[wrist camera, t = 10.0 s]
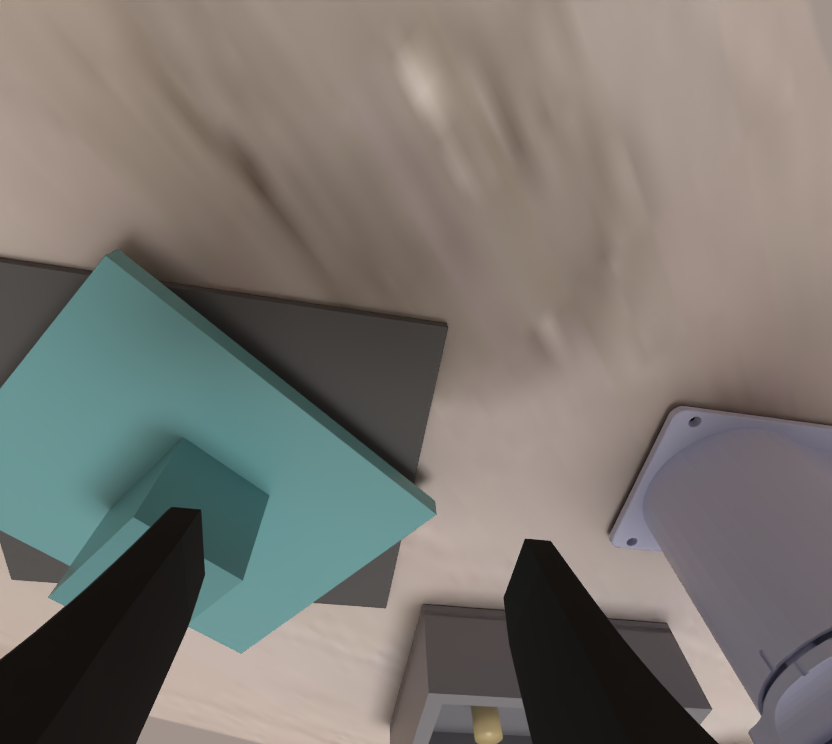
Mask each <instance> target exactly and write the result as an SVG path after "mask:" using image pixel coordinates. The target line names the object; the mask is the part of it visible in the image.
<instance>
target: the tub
mask: <svg viewBox="0 0 832 744" xmlns="http://www.w3.org/2000/svg"><path fill="white" fill-rule="evenodd" d="M609 621H610V622H611V623H612V625H613V626H614V627H615V629H616V630H617V631H618V632H619V634H620V635H621V636H622V638H623V639H624V640H625V641H626V642H627V644H628V645H629V646H630V647H631V649H632V650H633V651H634V652H635V653H636V655H637V656H638V657H639V658H640V659H641V661H642V662H643V663H644V664H645V665H646V666H647V668H648V669H649V670H650V671H651V672H652V674H653V675H654V676H655V677H656V678H657V679H658V680H659V682H660V683H661V684H662V685H663V686H664V687H665V688H666V689H667V690H668V692H669V693H670V694H671V695H672V696H673V697H674V698H675V699H676V700H677V701H678V702H679V703H680V704H681V706H682V707H683V708H684V709H685V710H686V711H687V712H688V713H689V714H690V715H691V716H692V717H693V718H694V719H695V720H696V721H697V722H698V723H699V725H700V724H701V723H702V721H703V720H704V719H705V718H706V717H707V715H708V714H709V713H710V712H711V710H712V708H711V706H710V704H709V702H708V700H707V698H706V696H705V694H704V693H703V691H702V689H701V687H700V685H699V683H698V681H697V679H696V677H695V675H694V674H693V672H692V670H691V668H690V666H689V664H688V662H687V660H686V658H685V657H684V655H683V653H682V651H681V649H680V647H679V645H678V643H677V641H676V639H675V638H674V636H673V634H672V632H671V630H670V628H669V626H668V624H666V623H653V622H641V621H628V620H615V619H609ZM390 744H532V740H531V735H530V731H529V727H528V723H527V719H526V714H525V710H524V706H523V702H522V698H521V694H520V689H519V685H518V681H517V677H516V672H515V668H514V664H513V659H512V655H511V650H510V646H509V639H508V632H507V624H506V615H505V611H500V610H488V609H475V608H462V607H449V606H437V605H424V604H423V607H422V611H421V615H420V618H419V622H418V626H417V629H416V633H415V637H414V640H413V644H412V648H411V651H410V655H409V659H408V662H407V666H406V670H405V673H404V677H403V681H402V684H401V688H400V691H399V695H398V699H397V702H396V706H395V710H394V713H393V717H392V721H391V724H390Z"/></svg>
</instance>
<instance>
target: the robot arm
mask: <svg viewBox="0 0 832 744" xmlns="http://www.w3.org/2000/svg"><path fill="white" fill-rule="evenodd" d="M694 417H696V418H695V419H694V420H693V421H691V422H689V421H690V420H691V419H692V418H694ZM609 539H610V541H611V543H612V545H613V546H615V547H618V548H629V549H639V550H649V551H660V552H663V553H664V555H665V557H666V558H667V560H668V562H669V563H670V565H671V567H672V568H673V570H674V572H675V573H676V575H677V577H678V578H679V580H680V582H681V583H682V585H683V587H684V588H685V590H686V592H687V593H688V595H689V597H690V598H691V600H692V602H693V603H694V605H695V607H696V608H697V610H698V612H699V613H700V615H701V617H702V618H703V620H704V622H705V623H706V625H707V627H708V628H709V630H710V632H711V633H712V635H713V637H714V638H715V640H716V641H717V643H718V645H719V646H720V648H721V650H722V651H723V653H724V655H725V656H726V658H727V660H728V661H729V663H730V665H731V666H732V668H733V670H734V671H735V673H736V675H737V676H738V678H739V680H740V681H741V683H742V685H743V686H744V688H745V690H746V691H747V693H748V695H749V696H750V698H751V700H752V701H753V703H754V705H755V706H756V708H757V710H758V711H759V713H760V715H761V718H760V720H759V721H758V722H757V724H756V725H755V726H754V727H752V728H751V729H750V730H749V732H748V733H749V735H750V737H751V739H752V741H753V742H754V744H832V426H829V425H822V424H814V423H807V422H799V421H792V420H784V419H777V418H770V417H762V416H755V415H747V414H740V413H732V412H725V411H718V410H710V409H703V408H695V407H688V406H679V407H677V408H675V409H673V410H672V411H671V412H670V413H669V415H668V417H667V419H666V421H665V423H664V425H663V427H662V429H661V431H660V433H659V435H658V437H657V439H656V441H655V443H654V445H653V447H652V449H651V452H650V454H649V456H648V458H647V460H646V462H645V464H644V466H643V468H642V470H641V472H640V474H639V476H638V478H637V480H636V482H635V484H634V486H633V488H632V490H631V492H630V494H629V496H628V498H627V500H626V502H625V504H624V506H623V508H622V510H621V512H620V514H619V517H618V519H617V521H616V523H615V525H614V527H613V529H612V531H611V533H610V535H609ZM204 577H205V564H204V547H203V529H202V512H201V509H191V508H180V507H171V508H169V509H168V510H167V511H166V512H165V513H164V514H163V515H162V516H161V517H160V518H159V519H158V520H157V521H156V522H155V523H154V524H153V525H152V526H151V527H150V528H149V529H148V530H147V531H146V532H145V533H144V534H143V535H142V536H141V537H140V538H139V539H138V540H137V541H136V542H135V543H134V544H133V545H132V546H130V547H129V548H128V549H127V550H126V551H125V552H124V553H123V554H122V555H121V556H120V557H119V558H118V559H117V560H116V561H115V562H114V563H113V564H112V565H111V566H109V567H108V568H107V569H106V570H105V571H104V572H103V573H102V574H101V575H100V576H99V577H97V578H96V579H95V580H94V581H93V582H92V583H91V584H90V585H89V586H88V587H87V588H86V589H84V590H83V591H82V592H81V593H80V594H79V595H78V596H77V597H75V598H74V599H73V600H72V601H71V602H70V603H68V604H67V605H66V606H65V607H64V608H62V609H61V610H60V611H59V612H58V613H57V614H55V615H54V616H53V617H52V618H51V619H50V620H48V621H47V622H46V623H45V624H44V625H43V626H41V627H40V628H39V629H38V630H37V631H35V632H34V633H33V634H32V635H31V636H29V637H28V638H27V639H26V640H24V641H23V642H22V643H21V644H19V645H18V646H17V647H16V648H14V649H13V650H12V651H10V652H9V653H8V654H7V655H5V656H4V657H3V658H2V659H0V744H136V742H137V740H138V738H139V735H140V733H141V731H142V729H143V727H144V724H145V722H146V720H147V718H148V715H149V713H150V711H151V709H152V707H153V704H154V702H155V700H156V698H157V695H158V693H159V691H160V689H161V687H162V684H163V682H164V680H165V678H166V675H167V673H168V671H169V669H170V666H171V664H172V662H173V660H174V657H175V655H176V653H177V651H178V648H179V646H180V644H181V642H182V639H183V637H184V635H185V633H186V630H187V628H188V626H189V623H190V620H191V617H192V614H193V611H194V608H195V605H196V602H197V599H198V596H199V593H200V590H201V586H202V583H203V580H204ZM504 606H505V615H506V624H507V632H508V639H509V646H510V650H511V655H512V659H513V664H514V668H515V672H516V677H517V681H518V685H519V689H520V694H521V698H522V702H523V706H524V710H525V714H526V719H527V723H528V727H529V731H530V735H531V740H532V744H718V743H717V742H716V741H715V740H714V739H713V738H712V737H711V736H710V735H709V734H708V733H707V732H706V731H705V730H704V729H703V728H702V727H701V726H700V725H699V723H698V722H697V721H696V720H695V719H694V718H693V717H692V716H691V715H690V714H689V713H688V712H687V711H686V710H685V709H684V708H683V707H682V706H681V704H680V703H679V702H678V701H677V700H676V699H675V698H674V697H673V696H672V695H671V694H670V693H669V692H668V690H667V689H666V688H665V687H664V686H663V685H662V684H661V683H660V682H659V680H658V679H657V678H656V677H655V676H654V675H653V674H652V672H651V671H650V670H649V669H648V668H647V666H646V665H645V664H644V663H643V662H642V661H641V659H640V658H639V657H638V656H637V655H636V653H635V652H634V651H633V650H632V649H631V647H630V646H629V645H628V644H627V642H626V641H625V640H624V639H623V638H622V636H621V635H620V634H619V632H618V631H617V630H616V629H615V627H614V626H613V625H612V623H611V622H610V621H609V619H608V618H607V617H606V616H605V614H604V613H603V612H602V610H601V609H600V608H599V606H598V605H597V604H596V602H595V601H594V600H593V598H592V597H591V596H590V594H589V593H588V592H587V590H586V589H585V588H584V586H583V585H582V583H581V582H580V581H579V579H578V578H577V577H576V575H575V574H574V572H573V571H572V570H571V568H570V567H569V566H568V564H567V563H566V561H565V560H564V559H563V557H562V556H561V554H560V553H559V552H558V550H557V549H556V548H555V546H554V545H553V544H552V542H551V541H545V540H534V539H525V540H524V543H523V546H522V549H521V551H520V554H519V557H518V560H517V562H516V565H515V568H514V571H513V573H512V576H511V579H510V582H509V584H508V587H507V590H506V593H505V595H504Z"/></svg>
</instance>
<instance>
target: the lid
mask: <svg viewBox="0 0 832 744" xmlns="http://www.w3.org/2000/svg"><path fill="white" fill-rule="evenodd" d="M171 507H180V508H191V509H201V512H202V529H203V547H204V564H205V577H204V580H203V583H202V586H201V590H200V593H199V596H198V599H197V602H196V605H195V608H194V611H193V614H192V617H191V620H190V623H189V626H188V627H190V628H192V629H194V630H196V631H198V632H200V633H202V634H204V635H206V636H208V637H210V638H211V639H213V640H215V641H217V642H219V643H221V644H223V645H225V646H227V647H229V648H231V649H233V650H235V651H237V652H239V653H243V652H244V651H246V650H247V649H248V648H250V647H251V646H253V645H254V644H255V643H257V642H258V641H260V640H261V639H262V638H264V637H265V636H267V635H268V634H269V633H271V632H272V631H274V630H275V629H276V628H278V627H279V626H281V625H282V624H283V623H285V622H286V621H288V620H289V619H290V618H292V617H293V616H295V615H296V614H298V613H299V612H300V611H302V610H303V609H305V608H306V607H307V606H309V605H310V604H312V603H313V602H314V601H316V600H317V599H319V598H320V597H321V596H323V595H324V594H326V593H327V592H328V591H330V590H331V589H333V588H334V587H335V586H337V585H338V584H340V583H341V582H342V581H344V580H345V579H347V578H348V577H350V576H351V575H352V574H354V573H355V572H357V571H358V570H359V569H361V568H362V567H364V566H365V565H366V564H368V563H369V562H371V561H372V560H373V559H375V558H376V557H378V556H379V555H380V554H382V553H383V552H385V551H386V550H387V549H389V548H390V547H392V546H393V545H394V544H396V543H397V542H399V541H400V540H402V539H403V538H404V537H406V536H407V535H409V534H410V533H411V532H413V531H414V530H416V529H417V528H418V527H420V526H421V525H423V524H424V523H425V522H427V521H428V520H430V519H431V518H432V517H434V516H435V515H436V505H435V501H434V500H433V499H432V498H431V497H429V496H428V495H427V494H426V493H424V492H423V491H422V490H421V489H419V488H418V487H417V486H416V485H414V484H413V483H412V482H411V481H409V480H408V479H407V478H405V477H404V476H403V475H402V474H400V473H399V472H398V471H397V470H395V469H394V468H393V467H392V466H390V465H389V464H388V463H387V462H385V461H384V460H383V459H382V458H380V457H379V456H378V455H377V454H375V453H374V452H373V451H372V450H370V449H369V448H368V447H367V446H365V445H364V444H363V443H362V442H360V441H359V440H358V439H357V438H355V437H354V436H353V435H351V434H350V433H349V432H348V431H346V430H345V429H344V428H343V427H341V426H340V425H339V424H338V423H336V422H335V421H334V420H333V419H331V418H330V417H329V416H328V415H326V414H325V413H324V412H323V411H321V410H320V409H319V408H318V407H316V406H315V405H314V404H313V403H311V402H310V401H309V400H308V399H306V398H305V397H304V396H302V395H301V394H300V393H299V392H297V391H296V390H295V389H294V388H292V387H291V386H290V385H289V384H287V383H286V382H285V381H284V380H282V379H281V378H280V377H279V376H277V375H276V374H275V373H274V372H272V371H271V370H270V369H269V368H267V367H266V366H265V365H264V364H262V363H261V362H260V361H259V360H257V359H256V358H255V357H254V356H252V355H251V354H250V353H248V352H247V351H246V350H245V349H243V348H242V347H241V346H240V345H238V344H237V343H236V342H235V341H233V340H232V339H231V338H230V337H228V336H227V335H226V334H225V333H223V332H222V331H221V330H220V329H218V328H217V327H216V326H215V325H213V324H212V323H211V322H210V321H208V320H207V319H206V318H205V317H203V316H202V315H201V314H199V313H198V312H197V311H196V310H194V309H193V308H192V307H191V306H189V305H188V304H187V303H186V302H184V301H183V300H182V299H181V298H179V297H178V296H177V295H176V294H174V293H173V292H172V291H171V290H169V289H168V288H167V287H166V286H164V285H163V284H162V283H161V282H159V281H158V280H157V279H156V278H154V277H153V276H152V275H151V274H149V273H148V272H147V271H145V270H144V269H143V268H142V267H140V266H139V265H138V264H137V263H135V262H134V261H133V260H132V259H130V258H129V257H128V256H127V255H125V254H124V253H123V252H122V251H120V250H119V249H117V250H115V251H113V252H111V253H110V254H108V255H106V256H105V257H104V258H103V259H102V261H101V262H100V263H99V264H98V266H97V267H96V268H95V269H94V271H93V272H92V273H91V275H90V276H89V277H88V278H87V280H86V281H85V282H84V283H83V285H82V286H81V287H80V288H79V290H78V291H77V292H76V294H75V295H74V296H73V297H72V299H71V300H70V301H69V302H68V304H67V305H66V306H65V307H64V309H63V310H62V311H61V312H60V314H59V315H58V316H57V318H56V319H55V320H54V321H53V323H52V324H51V325H50V326H49V328H48V329H47V330H46V331H45V333H44V334H43V335H42V336H41V338H40V339H39V340H38V342H37V343H36V344H35V345H34V347H33V348H32V349H31V350H30V352H29V353H28V354H27V355H26V357H25V358H24V359H23V361H22V362H21V363H20V364H19V366H18V367H17V368H16V369H15V371H14V372H13V373H12V374H11V376H10V377H9V378H8V379H7V381H6V382H5V383H4V385H3V386H2V387H1V388H0V530H1V531H3V532H5V533H6V534H8V535H10V536H12V537H14V538H16V539H18V540H20V541H22V542H24V543H26V544H28V545H30V546H32V547H34V548H36V549H38V550H40V551H42V552H44V553H46V554H47V555H49V556H51V557H53V558H55V559H57V560H59V561H61V562H63V563H65V564H67V565H69V566H70V567H69V568H68V570H67V571H66V572H65V574H64V575H63V577H62V578H61V580H60V581H59V582H58V584H57V585H56V587H55V588H54V590H53V591H52V592H51V594H50V595H49V597H48V598H50V599H52V600H54V601H56V602H58V603H60V604H62V605H64V606H66V605H67V604H68V603H70V602H71V601H72V600H73V599H74V598H75V597H77V596H78V595H79V594H80V593H81V592H82V591H83V590H84V589H86V588H87V587H88V586H89V585H90V584H91V583H92V582H93V581H94V580H95V579H96V578H97V577H99V576H100V575H101V574H102V573H103V572H104V571H105V570H106V569H107V568H108V567H109V566H111V565H112V564H113V563H114V562H115V561H116V560H117V559H118V558H119V557H120V556H121V555H122V554H123V553H124V552H125V551H126V550H127V549H128V548H129V547H130V546H132V545H133V544H134V543H135V542H136V541H137V540H138V539H139V538H140V537H141V536H142V535H143V534H144V533H145V532H146V531H147V530H148V529H149V528H150V527H151V526H152V525H153V524H154V523H155V522H156V521H157V520H158V519H159V518H160V517H161V516H162V515H163V514H164V513H165V512H166V511H167V510H168V509H169V508H171Z"/></svg>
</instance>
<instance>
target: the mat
mask: <svg viewBox="0 0 832 744" xmlns="http://www.w3.org/2000/svg"><path fill="white" fill-rule="evenodd" d="M92 272H93V271H86V270H79V269H73V268H66V267H59V266H52V265H45V264H39V263H32V262H25V261H18V260H11V259H5V258H0V388H1V387H2V386H3V385H4V383H5V382H6V381H7V379H8V378H9V377H10V376H11V374H12V373H13V372H14V371H15V369H16V368H17V367H18V366H19V364H20V363H21V362H22V361H23V359H24V358H25V357H26V355H27V354H28V353H29V352H30V350H31V349H32V348H33V347H34V345H35V344H36V343H37V342H38V340H39V339H40V338H41V336H42V335H43V334H44V333H45V331H46V330H47V329H48V328H49V326H50V325H51V324H52V323H53V321H54V320H55V319H56V318H57V316H58V315H59V314H60V312H61V311H62V310H63V309H64V307H65V306H66V305H67V304H68V302H69V301H70V300H71V299H72V297H73V296H74V295H75V294H76V292H77V291H78V290H79V288H80V287H81V286H82V285H83V283H84V282H85V281H86V280H87V278H88V277H89V276H90V275H91V273H92ZM159 282H161V281H159ZM161 283H162V284H163V285H164V286H166V287H167V288H168V289H169V290H171V291H172V292H173V293H174V294H176V295H177V296H178V297H179V298H181V299H182V300H183V301H184V302H186V303H187V304H188V305H189V306H191V307H192V308H193V309H194V310H196V311H197V312H198V313H199V314H201V315H202V316H203V317H205V318H206V319H207V320H208V321H210V322H211V323H212V324H213V325H215V326H216V327H217V328H218V329H220V330H221V331H222V332H223V333H225V334H226V335H227V336H228V337H230V338H231V339H232V340H233V341H235V342H236V343H237V344H238V345H240V346H241V347H242V348H243V349H245V350H246V351H247V352H248V353H250V354H251V355H252V356H254V357H255V358H256V359H257V360H259V361H260V362H261V363H262V364H264V365H265V366H266V367H267V368H269V369H270V370H271V371H272V372H274V373H275V374H276V375H277V376H279V377H280V378H281V379H282V380H284V381H285V382H286V383H287V384H289V385H290V386H291V387H292V388H294V389H295V390H296V391H297V392H299V393H300V394H301V395H302V396H304V397H305V398H306V399H308V400H309V401H310V402H311V403H313V404H314V405H315V406H316V407H318V408H319V409H320V410H321V411H323V412H324V413H325V414H326V415H328V416H329V417H330V418H331V419H333V420H334V421H335V422H336V423H338V424H339V425H340V426H341V427H343V428H344V429H345V430H346V431H348V432H349V433H350V434H351V435H353V436H354V437H355V438H357V439H358V440H359V441H360V442H362V443H363V444H364V445H365V446H367V447H368V448H369V449H370V450H372V451H373V452H374V453H375V454H377V455H378V456H379V457H380V458H382V459H383V460H384V461H385V462H387V463H388V464H389V465H390V466H392V467H393V468H394V469H395V470H397V471H398V472H399V473H400V474H402V475H403V476H404V477H405V478H407V479H408V480H409V481H411V482H412V483H413V484H414V479H415V475H416V470H417V466H418V461H419V457H420V452H421V447H422V443H423V438H424V434H425V429H426V425H427V420H428V416H429V411H430V407H431V402H432V398H433V393H434V389H435V384H436V380H437V375H438V371H439V366H440V362H441V357H442V353H443V348H444V344H445V339H446V335H447V330H448V326H447V323H440V322H434V321H427V320H420V319H413V318H406V317H400V316H393V315H386V314H379V313H372V312H365V311H359V310H352V309H345V308H338V307H331V306H325V305H318V304H311V303H304V302H297V301H291V300H284V299H277V298H270V297H263V296H257V295H250V294H243V293H236V292H229V291H222V290H216V289H209V288H202V287H195V286H188V285H182V284H175V283H168V282H161ZM400 542H401V540H400V541H399V542H397V543H396V544H394V545H393V546H392V547H390V548H389V549H387V550H386V551H385V552H383V553H382V554H380V555H379V556H378V557H376V558H375V559H373V560H372V561H371V562H369V563H368V564H366V565H365V566H364V567H362V568H361V569H359V570H358V571H357V572H355V573H354V574H352V575H351V576H350V577H348V578H347V579H345V580H344V581H342V582H341V583H340V584H338V585H337V586H335V587H334V588H333V589H331V590H330V591H328V592H327V593H326V594H324V595H323V596H321V597H320V598H319V599H317V600H316V601H314V602H313V603H323V604H336V605H349V606H362V607H375V608H386V606H387V601H388V597H389V592H390V588H391V583H392V579H393V574H394V569H395V565H396V560H397V556H398V551H399V547H400ZM0 543H1V547H2V550H3V553H4V556H5V560H6V563H7V566H8V569H9V573H10V576H11V579H12V580H23V581H37V582H50V583H58V582H59V581H60V580H61V578H62V577H63V575H64V574H65V572H66V571H67V570H68V568H69V567H70V566H69V565H67V564H65V563H63V562H61V561H59V560H57V559H55V558H53V557H51V556H49V555H47V554H46V553H44V552H42V551H40V550H38V549H36V548H34V547H32V546H30V545H28V544H26V543H24V542H22V541H20V540H18V539H16V538H14V537H12V536H10V535H8V534H6V533H5V532H3V531H1V530H0Z"/></svg>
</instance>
